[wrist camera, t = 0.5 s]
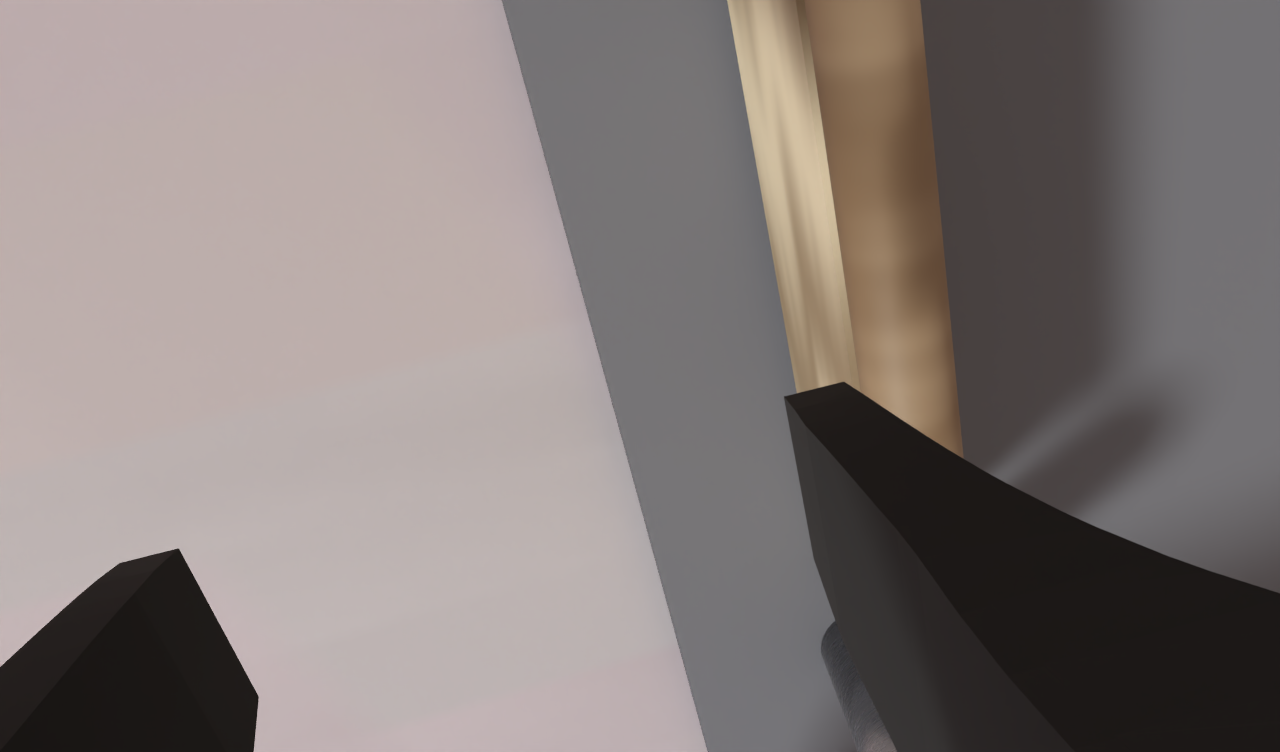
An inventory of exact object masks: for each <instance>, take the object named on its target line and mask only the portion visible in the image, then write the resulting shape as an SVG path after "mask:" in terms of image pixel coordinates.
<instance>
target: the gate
mask: <svg viewBox="0 0 1280 752" xmlns="http://www.w3.org/2000/svg"><path fill="white" fill-rule="evenodd" d="M727 2H728V8H729V14H730V19H731V25H732V31H733V36H734V42H735V48H736V53H737V59H738V64H739V70H740V76H741V81H742V87H743V93H744V98H745V104H746V110H747V115H748V121H749V126H750V132H751V138H752V143H753V149H754V155H755V160H756V166H757V171H758V177H759V183H760V188H761V194H762V200H763V205H764V211H765V217H766V222H767V228H768V233H769V239H770V245H771V250H772V256H773V262H774V267H775V273H776V279H777V284H778V290H779V295H780V301H781V307H782V312H783V318H784V324H785V329H786V335H787V341H788V346H789V352H790V357H791V363H792V369H793V374H794V380H795V386H796V391H797V393H800V392H804V391H808V390H812V389H816V388H820V387H824V386H828V385H832V384H836V383H840V382H845V383H847V384H849V385H850V386H852V387H853V388H855V389H856V390H858V391H860V392H861V393H863V394H864V395H866V396H867V397H869V398H870V399H872V400H873V401H875V402H876V403H878V404H879V405H881V406H882V407H883V408H885V409H886V410H888V411H889V412H891V413H892V414H894V415H895V416H897V417H898V418H900V419H901V420H903V421H904V422H906V423H908V424H909V425H911V426H912V427H914V428H915V429H917V430H918V431H920V432H921V433H923V434H924V435H926V436H927V437H929V438H931V439H932V440H934V441H935V442H937V443H939V444H940V445H942V446H943V447H945V448H947V449H948V450H950V451H952V452H953V453H955V454H957V455H958V456H960V457H962V458H963V459H964V457H963V447H962V436H961V426H960V415H959V405H958V394H957V383H956V373H955V362H954V352H953V341H952V331H951V320H950V309H949V299H948V288H947V278H946V267H945V257H944V246H943V236H942V225H941V214H940V204H939V193H938V183H937V172H936V162H935V151H934V140H933V130H932V119H931V109H930V98H929V88H928V77H927V67H926V56H925V45H924V35H923V24H922V14H921V3H920V0H727Z"/></svg>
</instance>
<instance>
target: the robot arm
mask: <svg viewBox="0 0 1280 752" xmlns="http://www.w3.org/2000/svg"><path fill="white" fill-rule="evenodd" d="M784 401H785V406H786V412H787V417H788V422H789V428H790V433H791V439H792V444H793V449H794V455H795V460H796V466H797V471H798V477H799V482H800V487H801V493H802V498H803V504H804V509H805V514H806V520H807V525H808V531H809V536H810V542H811V547H812V552H813V558H814V561H815V564H816V567H817V570H818V572H819V575H820V578H821V581H822V584H823V587H824V590H825V593H826V595H827V598H828V601H829V604H830V607H831V610H832V612H833V615H834V618H835V621H836V623H837V626H838V629H839V632H840V635H841V637H842V640H843V643H844V645H845V647H846V649H847V651H848V653H849V655H850V657H851V659H852V661H853V663H854V665H855V667H856V669H857V671H858V673H859V676H860V678H861V680H862V682H863V684H864V686H865V688H866V690H867V692H868V694H869V696H870V698H871V700H872V702H873V704H874V706H875V708H876V710H877V712H878V714H879V716H880V718H881V720H882V722H883V724H884V726H885V728H886V730H887V732H888V734H889V736H890V738H891V740H892V742H893V744H894V746H895V748H896V750H897V752H1280V593H1278V592H1274V591H1271V590H1268V589H1265V588H1262V587H1259V586H1256V585H1252V584H1249V583H1246V582H1243V581H1240V580H1237V579H1234V578H1230V577H1227V576H1224V575H1221V574H1218V573H1215V572H1212V571H1209V570H1206V569H1203V568H1200V567H1197V566H1195V565H1192V564H1189V563H1186V562H1183V561H1181V560H1178V559H1175V558H1172V557H1169V556H1167V555H1164V554H1162V553H1159V552H1157V551H1154V550H1152V549H1149V548H1147V547H1144V546H1142V545H1139V544H1137V543H1135V542H1132V541H1130V540H1127V539H1125V538H1122V537H1120V536H1117V535H1115V534H1112V533H1110V532H1108V531H1105V530H1103V529H1100V528H1098V527H1095V526H1093V525H1091V524H1089V523H1087V522H1084V521H1082V520H1080V519H1078V518H1075V517H1073V516H1071V515H1069V514H1067V513H1065V512H1062V511H1060V510H1058V509H1056V508H1054V507H1052V506H1050V505H1048V504H1047V503H1045V502H1043V501H1041V500H1039V499H1037V498H1035V497H1033V496H1031V495H1029V494H1027V493H1025V492H1023V491H1021V490H1019V489H1017V488H1015V487H1013V486H1011V485H1009V484H1007V483H1005V482H1003V481H1002V480H1000V479H998V478H996V477H994V476H993V475H991V474H989V473H987V472H985V471H984V470H982V469H980V468H979V467H977V466H975V465H974V464H972V463H970V462H968V461H967V460H965V459H963V458H962V457H960V456H958V455H957V454H955V453H953V452H952V451H950V450H948V449H947V448H945V447H943V446H942V445H940V444H939V443H937V442H935V441H934V440H932V439H931V438H929V437H927V436H926V435H924V434H923V433H921V432H920V431H918V430H917V429H915V428H914V427H912V426H911V425H909V424H908V423H906V422H904V421H903V420H901V419H900V418H898V417H897V416H895V415H894V414H892V413H891V412H889V411H888V410H886V409H885V408H883V407H882V406H881V405H879V404H878V403H876V402H875V401H873V400H872V399H870V398H869V397H867V396H866V395H864V394H863V393H861V392H860V391H858V390H856V389H855V388H853V387H852V386H850V385H849V384H847V383H845V382H840V383H836V384H832V385H828V386H824V387H820V388H816V389H812V390H808V391H804V392H800V393H796V394H792V395H788V396H784ZM258 698H259V697H258V695H257V693H256V691H255V689H254V687H253V685H252V684H251V682H250V680H249V678H248V676H247V674H246V672H245V671H244V669H243V667H242V665H241V663H240V661H239V659H238V658H237V656H236V654H235V652H234V650H233V648H232V646H231V645H230V643H229V641H228V639H227V637H226V635H225V634H224V632H223V630H222V628H221V626H220V624H219V622H218V621H217V619H216V617H215V615H214V613H213V611H212V609H211V608H210V606H209V604H208V602H207V600H206V598H205V596H204V595H203V593H202V591H201V589H200V587H199V585H198V583H197V582H196V580H195V578H194V576H193V574H192V572H191V570H190V569H189V567H188V565H187V563H186V561H185V559H184V557H183V556H182V554H181V552H180V550H179V549H175V550H171V551H167V552H163V553H159V554H155V555H151V556H147V557H143V558H139V559H135V560H131V561H127V562H123V563H119V564H118V565H117V566H115V567H114V568H113V569H111V570H110V571H109V572H107V573H106V574H105V575H103V576H102V577H101V578H99V579H98V580H97V581H96V582H94V583H93V584H92V585H91V586H90V587H88V588H87V589H86V590H85V591H84V592H82V593H81V594H80V595H79V596H78V597H77V598H76V599H74V600H73V601H72V602H71V603H70V604H69V605H68V606H66V607H65V608H64V609H63V610H62V611H61V612H60V613H59V614H58V615H56V616H55V617H54V618H53V619H52V620H51V621H50V622H49V623H48V624H47V625H45V626H44V627H43V628H42V629H41V630H40V631H39V632H38V633H37V634H36V635H35V636H33V637H32V638H31V639H30V640H29V641H28V642H27V643H26V644H25V645H24V646H23V647H22V648H20V649H19V650H18V651H17V652H16V653H15V654H14V655H13V656H12V657H11V658H10V659H9V660H7V661H6V662H5V663H4V664H3V665H2V666H1V667H0V752H253V751H254V741H255V730H256V719H257V709H258Z"/></svg>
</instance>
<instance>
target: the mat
mask: <svg viewBox="0 0 1280 752" xmlns="http://www.w3.org/2000/svg"><path fill="white" fill-rule="evenodd" d="M502 2H503V6H504V10H505V13H506V17H507V21H508V24H509V28H510V32H511V35H512V39H513V43H514V46H515V50H516V54H517V57H518V61H519V64H520V68H521V72H522V75H523V79H524V83H525V86H526V90H527V94H528V97H529V101H530V105H531V108H532V112H533V116H534V119H535V123H536V127H537V130H538V134H539V137H540V141H541V145H542V148H543V152H544V156H545V159H546V163H547V167H548V170H549V174H550V178H551V181H552V185H553V189H554V192H555V196H556V200H557V203H558V207H559V210H560V214H561V218H562V221H563V225H564V229H565V232H566V236H567V240H568V243H569V247H570V251H571V254H572V258H573V262H574V265H575V269H576V273H577V276H578V280H579V283H580V287H581V291H582V294H583V298H584V302H585V305H586V309H587V313H588V316H589V320H590V324H591V327H592V331H593V335H594V338H595V342H596V346H597V349H598V353H599V356H600V360H601V364H602V367H603V371H604V375H605V378H606V382H607V386H608V389H609V393H610V397H611V400H612V404H613V408H614V411H615V415H616V419H617V422H618V426H619V429H620V433H621V437H622V440H623V444H624V448H625V451H626V455H627V459H628V462H629V466H630V470H631V473H632V477H633V481H634V484H635V488H636V492H637V495H638V499H639V502H640V506H641V510H642V513H643V517H644V521H645V524H646V528H647V532H648V535H649V539H650V543H651V546H652V550H653V554H654V557H655V561H656V565H657V568H658V572H659V575H660V579H661V583H662V586H663V590H664V594H665V597H666V601H667V605H668V608H669V612H670V616H671V619H672V623H673V627H674V630H675V634H676V638H677V641H678V645H679V648H680V652H681V656H682V659H683V663H684V667H685V670H686V674H687V678H688V681H689V685H690V689H691V692H692V696H693V700H694V703H695V707H696V711H697V714H698V718H699V721H700V725H701V729H702V732H703V736H704V740H705V743H706V747H707V751H708V752H858V751H857V749H856V746H855V743H854V741H853V738H852V735H851V733H850V730H849V727H848V725H847V722H846V719H845V716H844V714H843V711H842V708H841V706H840V703H839V700H838V698H837V695H836V692H835V690H834V687H833V684H832V682H831V679H830V676H829V674H828V671H827V668H826V666H825V663H824V660H823V658H822V654H821V642H822V638H823V636H824V634H825V632H826V630H827V629H828V628H829V626H830V625H831V624H832V623H833V622H834V621H835V618H834V615H833V612H832V610H831V607H830V604H829V601H828V598H827V595H826V593H825V590H824V587H823V584H822V581H821V578H820V575H819V572H818V570H817V567H816V564H815V561H814V558H813V552H812V547H811V542H810V536H809V531H808V525H807V520H806V514H805V509H804V504H803V498H802V493H801V487H800V482H799V477H798V471H797V466H796V460H795V455H794V449H793V444H792V439H791V433H790V428H789V422H788V417H787V412H786V406H785V401H784V396H788V395H792V394H796V393H797V391H796V386H795V380H794V374H793V369H792V363H791V357H790V352H789V346H788V341H787V335H786V329H785V324H784V318H783V312H782V307H781V301H780V295H779V290H778V284H777V279H776V273H775V267H774V262H773V256H772V250H771V245H770V239H769V233H768V228H767V222H766V217H765V211H764V205H763V200H762V194H761V188H760V183H759V177H758V171H757V166H756V160H755V155H754V149H753V143H752V138H751V132H750V126H749V121H748V115H747V110H746V104H745V98H744V93H743V87H742V81H741V76H740V70H739V64H738V59H737V53H736V48H735V42H734V36H733V31H732V25H731V19H730V14H729V8H728V2H727V0H502ZM920 3H921V14H922V24H923V35H924V45H925V56H926V67H927V77H928V88H929V98H930V109H931V119H932V130H933V140H934V151H935V162H936V172H937V183H938V193H939V204H940V214H941V225H942V236H943V246H944V257H945V267H946V278H947V288H948V299H949V309H950V320H951V331H952V341H953V352H954V362H955V373H956V383H957V394H958V405H959V415H960V426H961V436H962V447H963V457H964V459H965V460H967V461H968V462H970V463H972V464H974V465H975V466H977V467H979V468H980V469H982V470H984V471H985V472H987V473H989V474H991V475H993V476H994V477H996V478H998V479H1000V480H1002V481H1003V482H1005V483H1007V484H1009V485H1011V486H1013V487H1015V488H1017V489H1019V490H1021V491H1023V492H1025V493H1027V494H1029V495H1031V496H1033V497H1035V498H1037V499H1039V500H1041V501H1043V502H1045V503H1047V504H1048V505H1050V506H1052V507H1054V508H1056V509H1058V510H1060V511H1062V512H1065V513H1067V514H1069V515H1071V516H1073V517H1075V518H1078V519H1080V520H1082V521H1084V522H1087V523H1089V524H1091V525H1093V526H1095V527H1098V528H1100V529H1103V530H1105V531H1108V532H1110V533H1112V534H1115V535H1117V536H1120V537H1122V538H1125V539H1127V540H1130V541H1132V542H1135V543H1137V544H1139V545H1142V546H1144V547H1147V548H1149V549H1152V550H1154V551H1157V552H1159V553H1162V554H1164V555H1167V556H1169V557H1172V558H1175V559H1178V560H1181V561H1183V562H1186V563H1189V564H1192V565H1195V566H1197V567H1200V568H1203V569H1206V570H1209V571H1212V572H1215V573H1218V574H1221V575H1224V576H1227V577H1230V578H1234V579H1237V580H1240V581H1243V582H1246V583H1249V584H1252V585H1256V586H1259V587H1262V588H1265V589H1268V590H1271V591H1274V592H1278V593H1280V0H920Z"/></svg>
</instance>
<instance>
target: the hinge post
mask: <svg viewBox="0 0 1280 752" xmlns="http://www.w3.org/2000/svg"><path fill="white" fill-rule="evenodd" d="M821 654H822V658H823V660H824V663H825V666H826V668H827V671H828V674H829V676H830V679H831V682H832V684H833V687H834V690H835V692H836V695H837V698H838V700H839V703H840V706H841V708H842V711H843V714H844V716H845V719H846V722H847V725H848V727H849V730H850V733H851V735H852V738H853V741H854V743H855V746H856V749H857V751H858V752H897V750H896V748H895V746H894V744H893V742H892V740H891V738H890V736H889V734H888V732H887V730H886V728H885V726H884V724H883V722H882V720H881V718H880V716H879V714H878V712H877V710H876V708H875V706H874V704H873V702H872V700H871V698H870V696H869V694H868V692H867V690H866V688H865V686H864V684H863V682H862V680H861V678H860V676H859V673H858V671H857V669H856V667H855V665H854V663H853V661H852V659H851V657H850V655H849V653H848V651H847V649H846V647H845V645H844V643H843V640H842V637H841V635H840V632H839V629H838V626H837V623H836V621H834V622H833V623H832V624H831V625H830V626H829V628H828V629H827V630H826V632H825V634H824V636H823V638H822V642H821Z"/></svg>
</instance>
